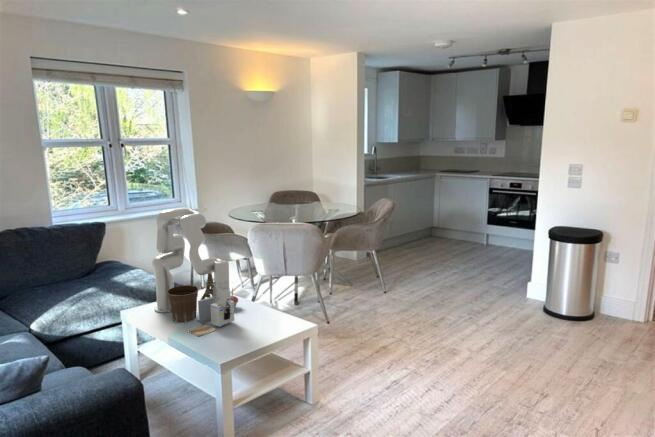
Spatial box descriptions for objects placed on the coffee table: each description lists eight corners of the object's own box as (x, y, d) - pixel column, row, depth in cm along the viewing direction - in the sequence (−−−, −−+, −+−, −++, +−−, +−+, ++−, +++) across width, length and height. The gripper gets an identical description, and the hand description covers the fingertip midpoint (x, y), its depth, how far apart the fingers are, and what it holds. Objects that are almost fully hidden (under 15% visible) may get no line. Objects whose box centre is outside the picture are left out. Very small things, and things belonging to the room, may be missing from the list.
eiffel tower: (222, 296, 281) (220, 256, 277) (216, 302, 271) (214, 261, 267) (206, 295, 283) (204, 256, 278) (199, 301, 272) (197, 260, 268)
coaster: (187, 331, 228) (187, 330, 228) (204, 325, 236) (204, 324, 236) (198, 336, 222) (198, 335, 222) (215, 330, 229) (215, 329, 229)
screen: (197, 321, 240) (196, 300, 238) (219, 314, 251) (218, 293, 249) (202, 324, 237) (201, 302, 235) (224, 316, 247) (223, 295, 245)
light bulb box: (226, 317, 243) (225, 298, 241) (235, 320, 239) (234, 300, 237) (210, 323, 234) (209, 304, 232) (219, 327, 230) (218, 306, 228)
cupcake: (231, 304, 266) (230, 284, 264) (241, 307, 261) (241, 287, 259) (220, 309, 259) (219, 288, 257) (230, 312, 254) (229, 291, 252)
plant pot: (191, 325, 235) (189, 295, 233) (162, 323, 239) (160, 294, 236) (205, 314, 251) (204, 286, 249) (178, 312, 254) (177, 284, 252)
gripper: (205, 282, 236) (206, 314, 239) (225, 290, 224) (226, 324, 228) (218, 279, 241) (218, 310, 244) (238, 286, 230) (238, 319, 233)
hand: (222, 316), depth 236 cm, fingers closed on light bulb box, 7 cm apart
